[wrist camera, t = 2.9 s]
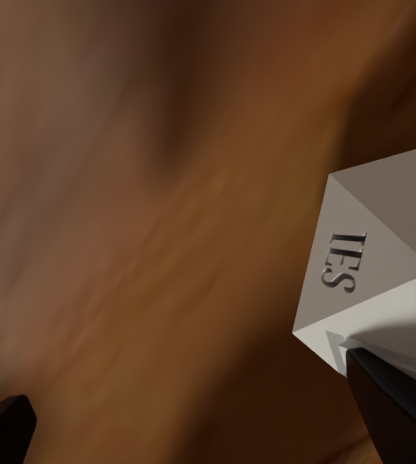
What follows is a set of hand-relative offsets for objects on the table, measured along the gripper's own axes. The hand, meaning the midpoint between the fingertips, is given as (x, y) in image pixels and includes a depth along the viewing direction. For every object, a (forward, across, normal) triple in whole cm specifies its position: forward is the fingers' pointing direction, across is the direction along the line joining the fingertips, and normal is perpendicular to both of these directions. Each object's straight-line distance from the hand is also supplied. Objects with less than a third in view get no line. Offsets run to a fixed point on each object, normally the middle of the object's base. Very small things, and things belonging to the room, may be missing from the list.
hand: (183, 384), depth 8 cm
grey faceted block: (+6, -6, 0) cm, 9 cm away
